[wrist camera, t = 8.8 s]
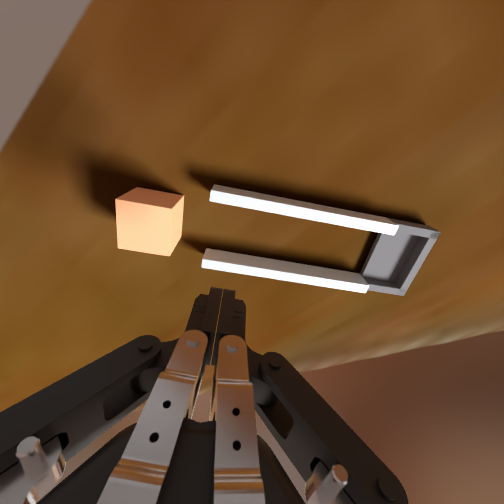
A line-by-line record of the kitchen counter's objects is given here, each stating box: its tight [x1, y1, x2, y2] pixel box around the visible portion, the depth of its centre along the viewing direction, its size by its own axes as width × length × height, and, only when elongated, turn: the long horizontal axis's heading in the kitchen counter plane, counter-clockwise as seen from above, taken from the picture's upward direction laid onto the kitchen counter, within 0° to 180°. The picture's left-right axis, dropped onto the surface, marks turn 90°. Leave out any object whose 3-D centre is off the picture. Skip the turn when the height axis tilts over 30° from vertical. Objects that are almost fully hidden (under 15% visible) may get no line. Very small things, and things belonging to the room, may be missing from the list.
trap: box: [360, 218, 440, 296], centre depth 27 cm, size 5×8×2 cm, turn 169°
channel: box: [202, 184, 399, 293], centre depth 25 cm, size 18×8×2 cm, turn 79°
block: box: [115, 187, 184, 256], centre depth 23 cm, size 4×4×4 cm
